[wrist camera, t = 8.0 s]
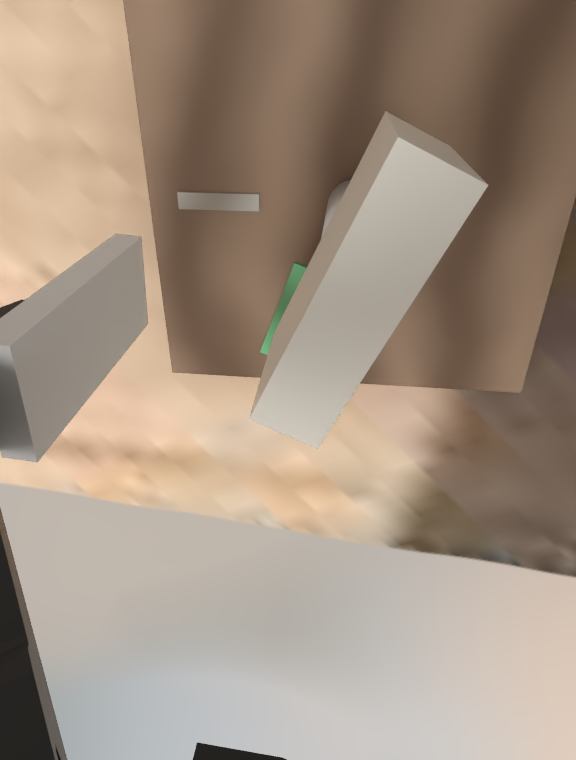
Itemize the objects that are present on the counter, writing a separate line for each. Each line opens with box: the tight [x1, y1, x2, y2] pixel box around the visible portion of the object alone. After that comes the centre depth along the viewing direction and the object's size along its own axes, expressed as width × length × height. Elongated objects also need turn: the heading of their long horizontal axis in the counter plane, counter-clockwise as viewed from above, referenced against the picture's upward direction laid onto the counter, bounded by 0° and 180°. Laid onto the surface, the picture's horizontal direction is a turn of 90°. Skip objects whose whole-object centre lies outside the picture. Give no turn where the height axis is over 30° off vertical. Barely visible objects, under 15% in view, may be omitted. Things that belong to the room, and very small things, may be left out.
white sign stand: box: [249, 111, 488, 449], centre depth 21 cm, size 14×2×12 cm, turn 155°
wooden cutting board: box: [123, 0, 576, 393], centre depth 26 cm, size 20×20×2 cm
